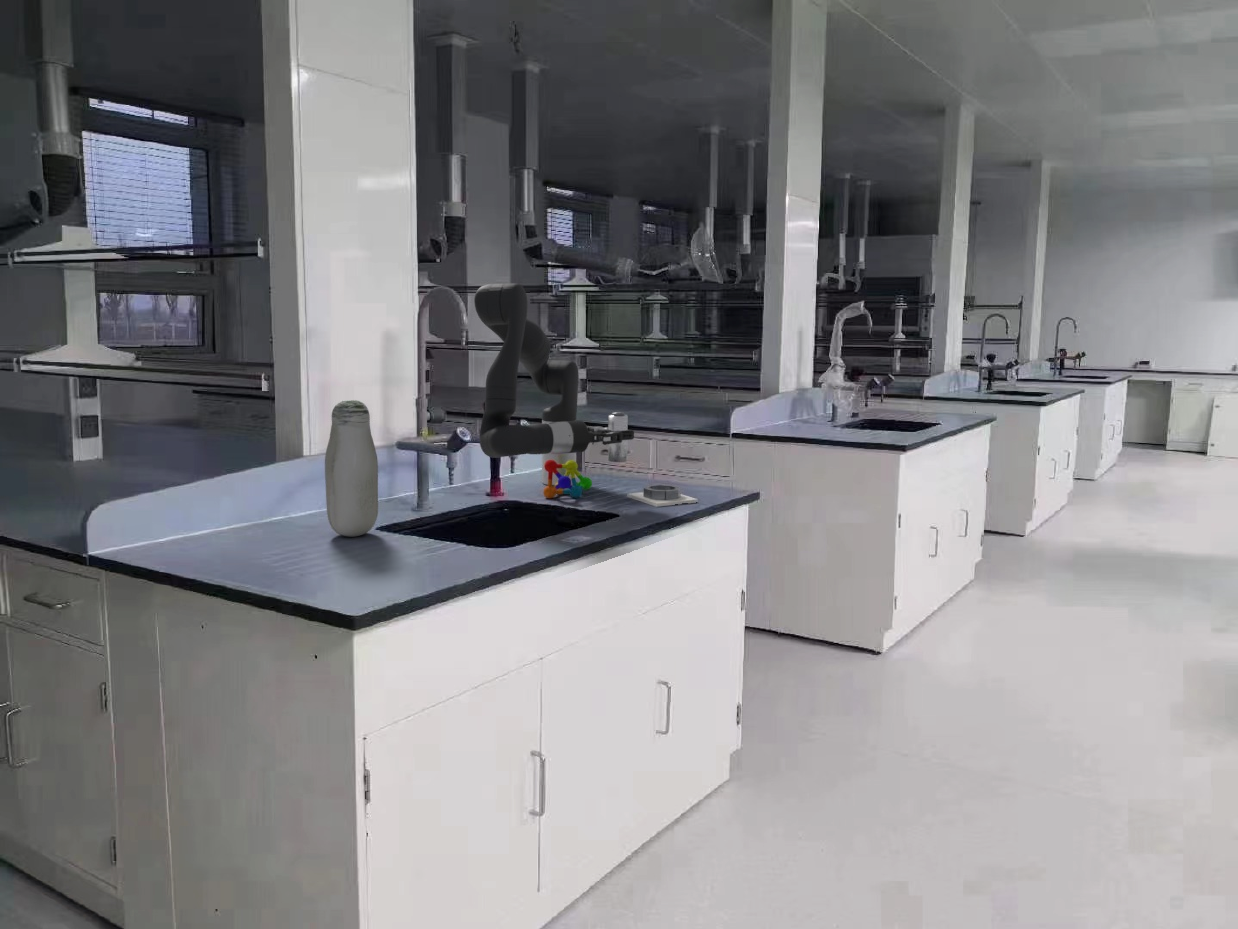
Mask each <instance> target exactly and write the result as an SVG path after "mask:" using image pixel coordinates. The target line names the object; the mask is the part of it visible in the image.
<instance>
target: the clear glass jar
mask: <svg viewBox="0 0 1238 929" xmlns="http://www.w3.org/2000/svg"><path fill="white" fill-rule="evenodd" d="M628 422H629V420H628V414H625V412H621V411H618V412H617V411H616V412H615V411H614V412H611V414H608V422H607V423H608V424H607V428H608V429H610V430H611V431H617V430H619V431H624V430H629V429H628V425H629V424H628ZM607 448H608V449H607V461H608V462H611V463H624V462H625V463H626V462H627V461H628V440H622V442H621V443H613V444H607Z"/></svg>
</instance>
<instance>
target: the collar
mask: <svg viewBox="0 0 1238 929" xmlns="http://www.w3.org/2000/svg"><path fill="white" fill-rule="evenodd" d="M643 492H644V494H643V497H646V498H649V499H655V500H672V499H678V498H679V497H681V494H682V487H680V486H676V485H673V484H662V483H661V484H651V485H646V486H644V487H643Z"/></svg>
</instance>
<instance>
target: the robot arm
mask: <svg viewBox="0 0 1238 929" xmlns="http://www.w3.org/2000/svg"><path fill="white" fill-rule="evenodd" d="M473 298H474V308H475V311H476V314H477V316H478V318H479V319H480V321H481V323H483V324H484V325H485V326H486V327H487V328H489V329H490V330H491V331H492V332H493V333H494V334H495V335H497V337H498V338H499V339H500V340H501V341H502V342H503V345H502V347H501V349H500V350H499V352H498V354H497V355H496V357H495V358H494V360H493V362H492V364H491V365H490V367H489V369H488V372H487V375H486V380H485V393H484V394H485V395H484V396H485V398H484V400H485V401H484V404H485V405H484V406H485V407H484V410H483V416H482V419H481V424H480V430H479V446H480V448H481V451H482V452H483V453H484V455H485V456H487V457H490V458H494V459H496V458H504V457H512V456H520V455H521V456H522V455H541V483H542V484H543V485H547V486H548V472H547V471H546V470H545V468H544V464H545V462H546V461H548V460H554V461H555V462H556V463H557V464H566V462H567V461H569V460H573V461H575V462H576V463H577V453H583V452H585V451H586V450H587V449H588V448H589V447H588V446H589V445H590V444H591V445H593V446H599V445H601V444H602V445H604V446H607V445H608V444H613V443H621V442H622V440H627V441H631V440H634V439H635V431H634V430H632V429H628V430H624V431H619V430H617V431H611V430H610V429H608V426H605V427H603V426H602V425H601V426H599V425H597V426H591V425H590V426H589V425H588V426H587V424H586V423H585V422H584V421H583V420H577V412H578V396H579V395H578V394H579V368H578V365H577V363H576V362H575V361H573V360H562V359H561V360H560V359H558V360H557V359H548V358H549V357H550V353H551V349H552V348H551V347H552V346H551V342H550V339H549V337H548V336H547V335H546V333H545V332H544V330H543V329H542V328H541V327H540V326H539V325H538V324H537V323H535V322H534V321H532V320H530V319H528V318H527V316H528V315H527V314H528V295H527V292H526V290H525V288H524V286H523V285H522V284H520V283H514V282H513V283H508V282H506V283H489V284H484V285H482V286H480V287H479V288H478V289H477V290H476V292H475V294H474V297H473ZM519 363H521V364H522V365H523V367H524V368H525V370H526V371H527V373H529V376H530V377H531V380H532V381H533V383H534V385H535V386H536V388H537V389H538V390H539V392H541V393H542V394H545V395H553V396H554V395H555V396H558V395H559V396H561V399H560V402H558V403H557V404H555V405H552V406H550V407H547V408H544V409H543V410H542V412H541V423H533V424H525V425H523V424H510V422H511V417H512V416H513V415H514V414H515V411H516V409H517V394H518V392H517V388H518V387H517V386H518V371H519ZM557 471H558V472H559V473H560V474H561V475H562V476H564V475H565V473H566V469H565V468H557ZM569 478H570V480H571V474H570V475H569ZM575 478H576V479H577V476H576V475H575ZM558 480H559V479H558V477H557V476H556V475H555V474H554V473H553V476H552V486H555V484H556V483H557V482H558ZM571 484H572V480H571Z"/></svg>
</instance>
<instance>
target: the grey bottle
mask: <svg viewBox="0 0 1238 929" xmlns="http://www.w3.org/2000/svg"><path fill="white" fill-rule="evenodd" d="M370 417H371V416H370V412H369V409H368V407H367V405H366V404H365V403H364V402H362V401H360V400H356V399H355V400H354V399H353V400H342V401H340V402H338V403H336V404H335V405H334V406H333V409H332V412H331V426H330V434H329V439H328V444H327V446H326V450H325V456H324V478H325V498H326V500H325V501H326V502H325V503H326V514H327V520H328V523H329V525H330V526H331V529H332V530H333V531H334V533H336V534H337V535H341V536H343V537H350V538H351V537H352V538H353V537H359V536H362V535H365V534H367V533H368V532H370V531H371V530H372V529H373V527H374V525H375V524H376V522H377V519H378V514H379V487H378V485H379V463H378V462H379V461H378V454H377V450H376V447H375V443H374V439H373V436H372V431H371V430H372V429H371V423H370V422H371V420H370V419H371V418H370Z"/></svg>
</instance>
